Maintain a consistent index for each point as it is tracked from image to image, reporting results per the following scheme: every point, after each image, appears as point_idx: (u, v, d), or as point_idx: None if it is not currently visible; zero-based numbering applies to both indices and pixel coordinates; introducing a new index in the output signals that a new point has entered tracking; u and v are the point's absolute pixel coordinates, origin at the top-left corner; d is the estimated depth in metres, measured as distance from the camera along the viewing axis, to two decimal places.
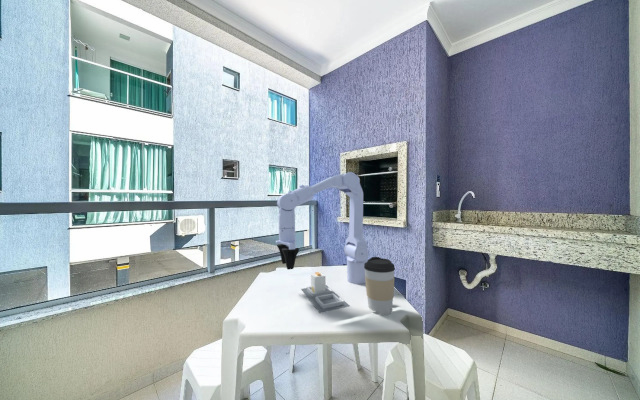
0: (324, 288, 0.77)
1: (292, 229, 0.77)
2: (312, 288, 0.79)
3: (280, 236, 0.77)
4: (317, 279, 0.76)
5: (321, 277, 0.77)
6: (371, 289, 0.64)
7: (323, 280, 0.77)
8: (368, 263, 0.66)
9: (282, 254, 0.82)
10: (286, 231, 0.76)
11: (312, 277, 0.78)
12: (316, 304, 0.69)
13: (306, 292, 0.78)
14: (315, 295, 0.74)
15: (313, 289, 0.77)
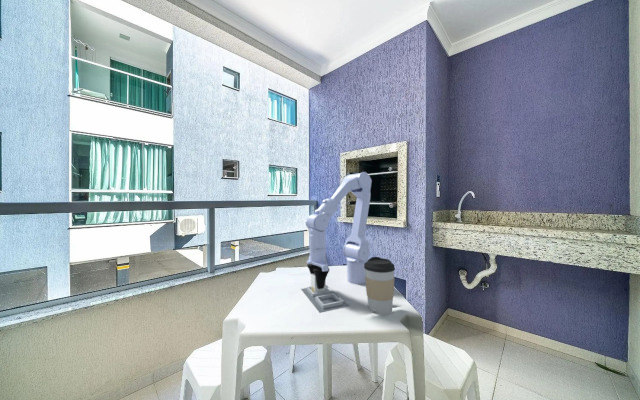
0: (324, 288, 0.77)
1: (323, 249, 0.77)
2: (312, 288, 0.79)
3: (311, 256, 0.77)
4: None
5: None
6: (371, 289, 0.64)
7: None
8: (368, 263, 0.66)
9: None
10: (318, 252, 0.76)
11: (312, 277, 0.78)
12: (316, 304, 0.69)
13: (306, 292, 0.78)
14: (315, 295, 0.74)
15: (313, 289, 0.77)
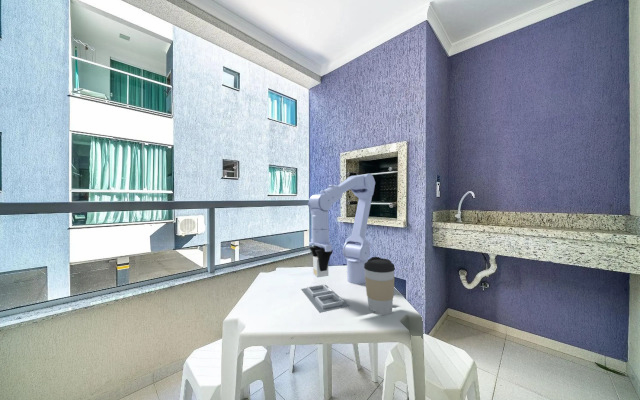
0: (327, 271, 0.74)
1: (326, 230, 0.74)
2: (314, 271, 0.76)
3: (314, 237, 0.74)
4: None
5: None
6: (371, 289, 0.64)
7: None
8: (368, 263, 0.66)
9: None
10: (320, 232, 0.73)
11: (314, 259, 0.75)
12: (316, 304, 0.69)
13: (306, 292, 0.78)
14: (315, 295, 0.74)
15: (315, 272, 0.74)
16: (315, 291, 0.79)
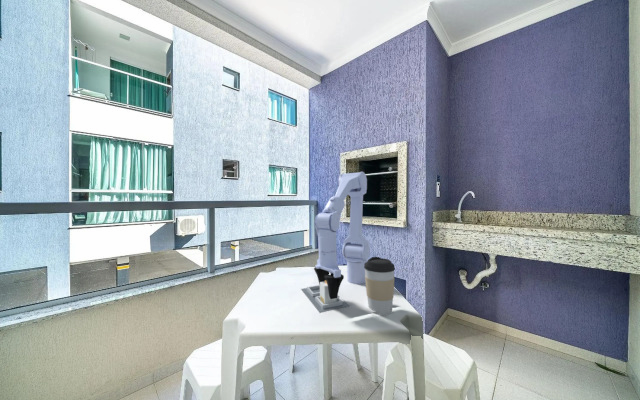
0: (335, 298, 0.69)
1: (334, 252, 0.68)
2: (321, 298, 0.70)
3: (321, 260, 0.68)
4: (327, 289, 0.68)
5: None
6: (371, 289, 0.64)
7: None
8: (368, 263, 0.66)
9: (320, 279, 0.73)
10: (328, 255, 0.67)
11: (321, 286, 0.70)
12: (316, 304, 0.69)
13: (306, 292, 0.78)
14: (315, 295, 0.74)
15: (322, 299, 0.69)
16: (315, 291, 0.79)
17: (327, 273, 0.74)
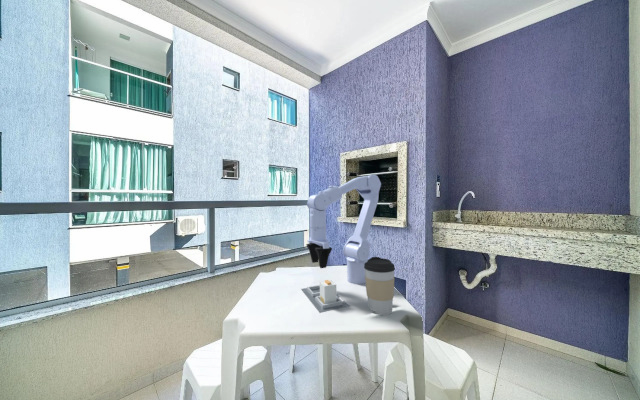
0: (335, 298, 0.69)
1: (324, 229, 0.78)
2: (321, 298, 0.70)
3: (312, 235, 0.78)
4: (327, 289, 0.68)
5: (331, 286, 0.68)
6: (371, 289, 0.64)
7: (334, 289, 0.69)
8: (368, 263, 0.66)
9: (312, 253, 0.83)
10: (318, 231, 0.77)
11: (321, 286, 0.70)
12: (316, 304, 0.69)
13: (306, 292, 0.78)
14: (315, 295, 0.74)
15: (322, 299, 0.69)
16: (315, 291, 0.79)
17: None
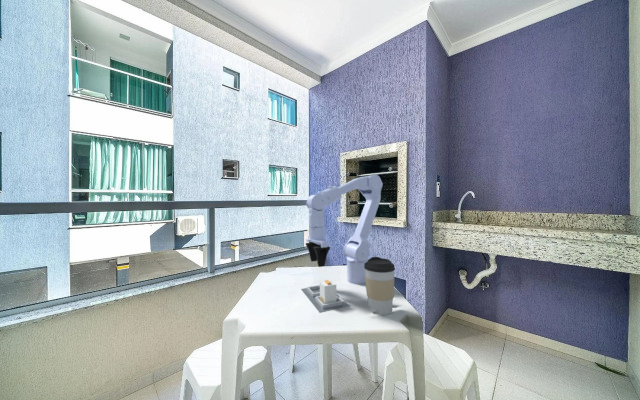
0: (335, 298, 0.69)
1: (322, 228, 0.80)
2: (321, 298, 0.70)
3: (311, 235, 0.80)
4: (327, 289, 0.68)
5: (331, 286, 0.68)
6: (371, 289, 0.64)
7: (334, 289, 0.69)
8: (368, 263, 0.66)
9: (311, 252, 0.85)
10: (317, 230, 0.79)
11: (321, 286, 0.70)
12: (316, 304, 0.69)
13: (306, 292, 0.78)
14: (315, 295, 0.74)
15: (322, 299, 0.69)
16: (315, 291, 0.79)
17: None
